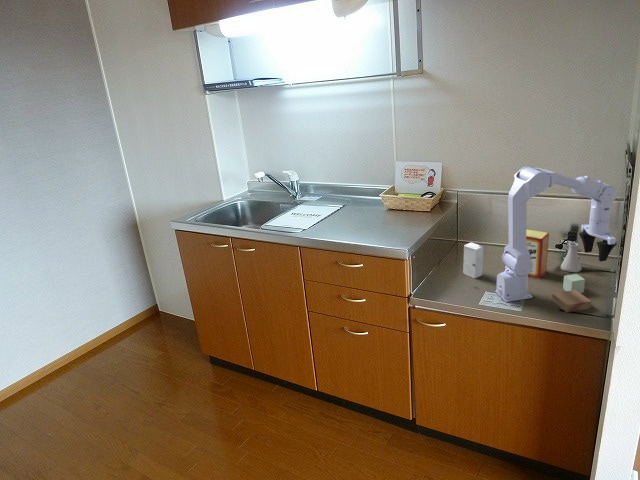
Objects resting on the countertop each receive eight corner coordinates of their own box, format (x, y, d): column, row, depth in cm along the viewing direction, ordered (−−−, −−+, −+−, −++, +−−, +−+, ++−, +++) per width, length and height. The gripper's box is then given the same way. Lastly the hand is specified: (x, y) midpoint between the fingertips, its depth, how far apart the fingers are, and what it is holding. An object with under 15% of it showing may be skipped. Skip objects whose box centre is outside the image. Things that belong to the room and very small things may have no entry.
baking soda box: (513, 272, 174) (515, 233, 169) (520, 266, 179) (522, 227, 173) (539, 278, 168) (542, 238, 162) (546, 271, 172) (549, 232, 166)
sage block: (570, 294, 156) (572, 281, 154) (562, 288, 160) (564, 275, 158) (583, 292, 156) (584, 279, 154) (575, 286, 160) (576, 273, 158)
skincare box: (462, 273, 178) (462, 245, 174) (470, 270, 180) (470, 241, 176) (475, 279, 173) (475, 249, 169) (483, 275, 175) (483, 246, 171)
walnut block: (566, 313, 146) (567, 305, 145) (551, 301, 154) (552, 293, 153) (590, 309, 147) (591, 301, 146) (574, 297, 154) (575, 289, 153)
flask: (563, 263, 177) (565, 239, 173) (584, 266, 173) (586, 242, 169) (558, 270, 172) (560, 246, 168) (579, 274, 168) (582, 249, 164)
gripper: (626, 224, 146) (621, 262, 151) (596, 210, 159) (592, 246, 164) (605, 227, 146) (600, 266, 151) (577, 213, 159) (573, 249, 164)
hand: (595, 256), depth 157 cm, fingers open, 7 cm apart
